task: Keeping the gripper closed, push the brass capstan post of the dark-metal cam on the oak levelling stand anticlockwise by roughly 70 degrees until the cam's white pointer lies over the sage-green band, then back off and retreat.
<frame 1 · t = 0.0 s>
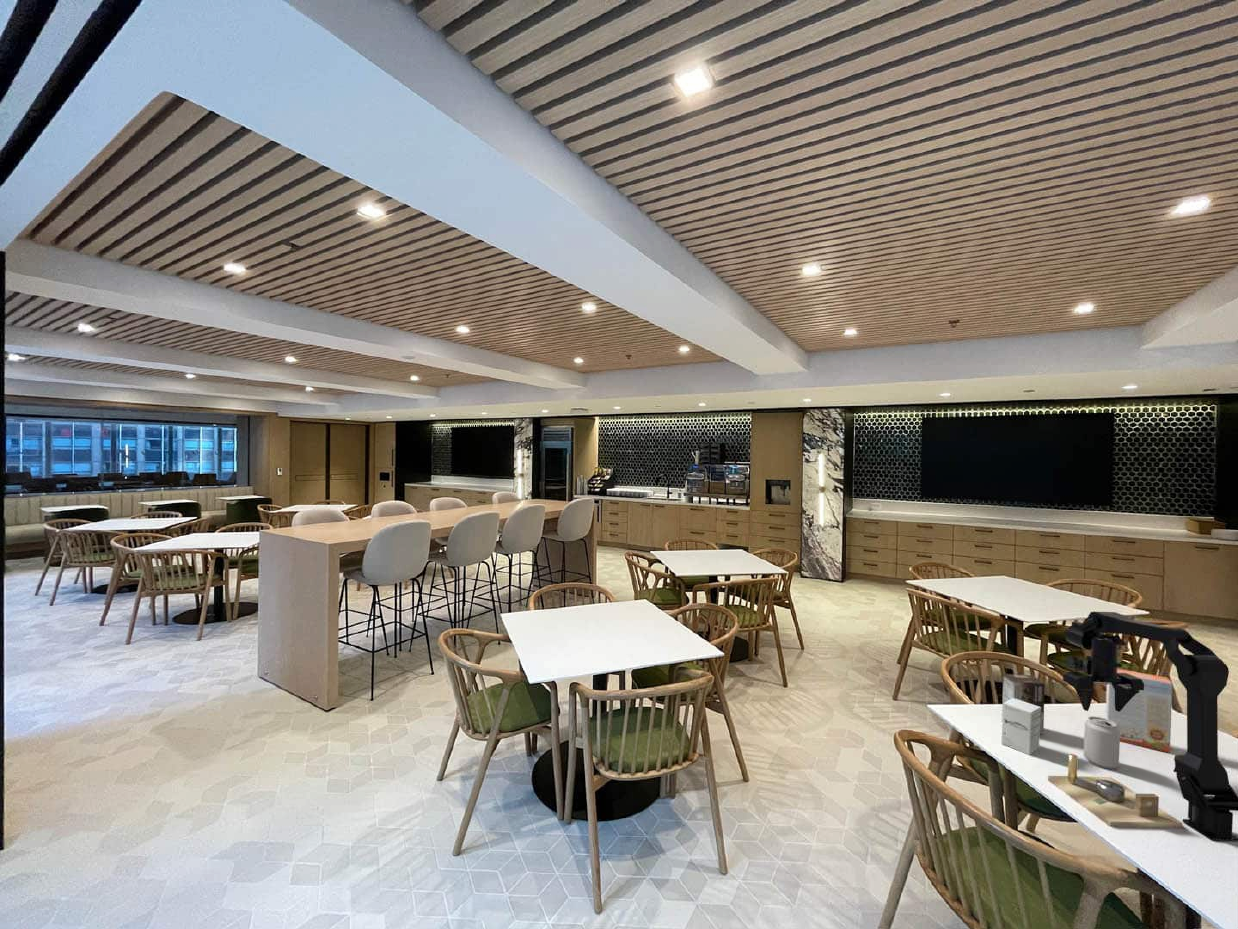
hand: (1101, 710, 154), 15 cm above the table, fingers open, 9 cm apart
cracker box: (1136, 742, 166), on the table
supplement box: (1020, 747, 161), on the table
coffee box: (1021, 729, 172), on the table
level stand: (1110, 802, 135), on the table
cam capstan: (1095, 777, 137), point 5 cm above the table, hinge at 40.0°
can: (1100, 763, 153), on the table
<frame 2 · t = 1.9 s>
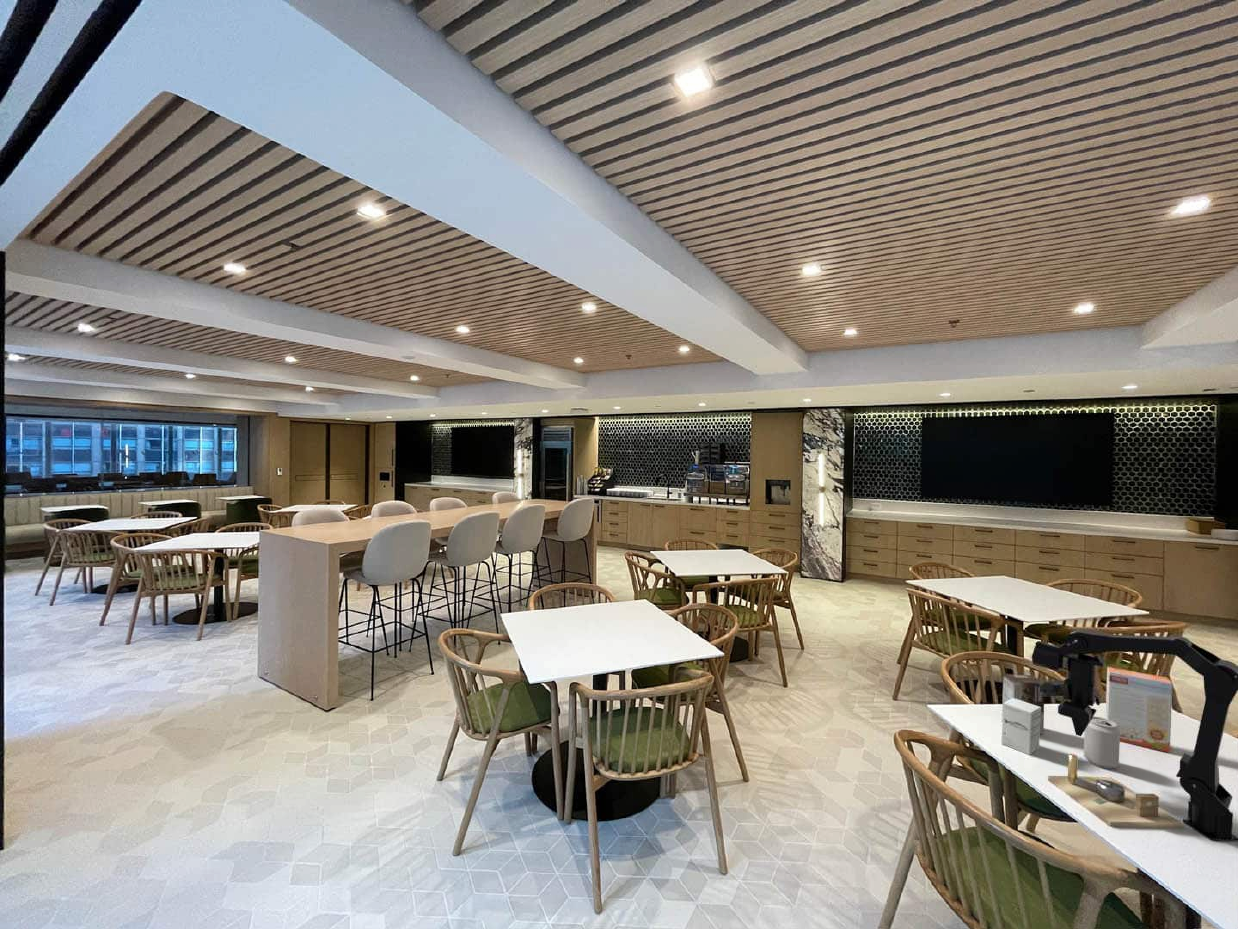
hand: (1078, 735, 145), 12 cm above the table, fingers closed
nothing on the table moved.
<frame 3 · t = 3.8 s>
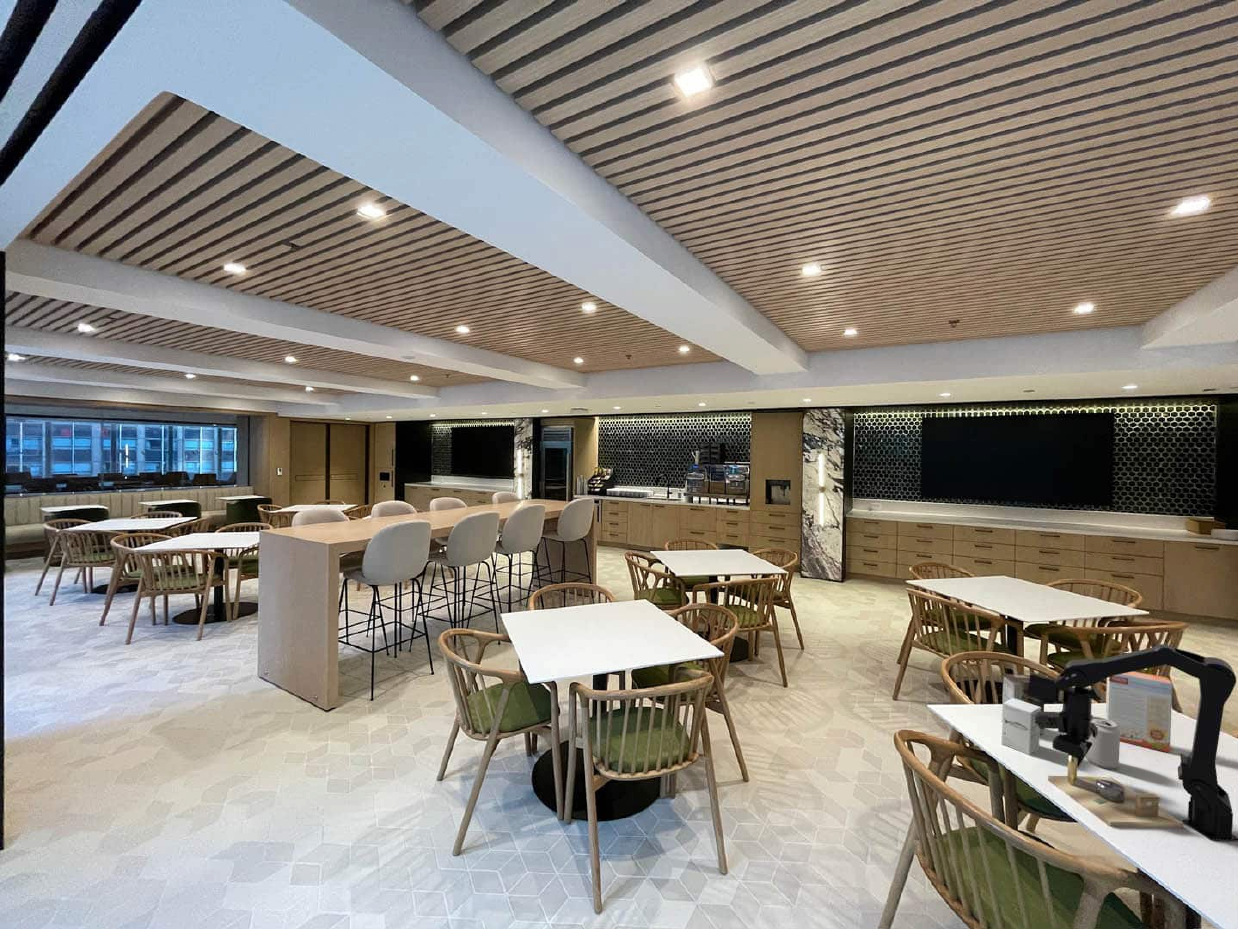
hand: (1074, 768, 143), 4 cm above the table, fingers closed
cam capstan: (1095, 777, 137), point 5 cm above the table, hinge at 43.5°, touching gripper
everything else where it was.
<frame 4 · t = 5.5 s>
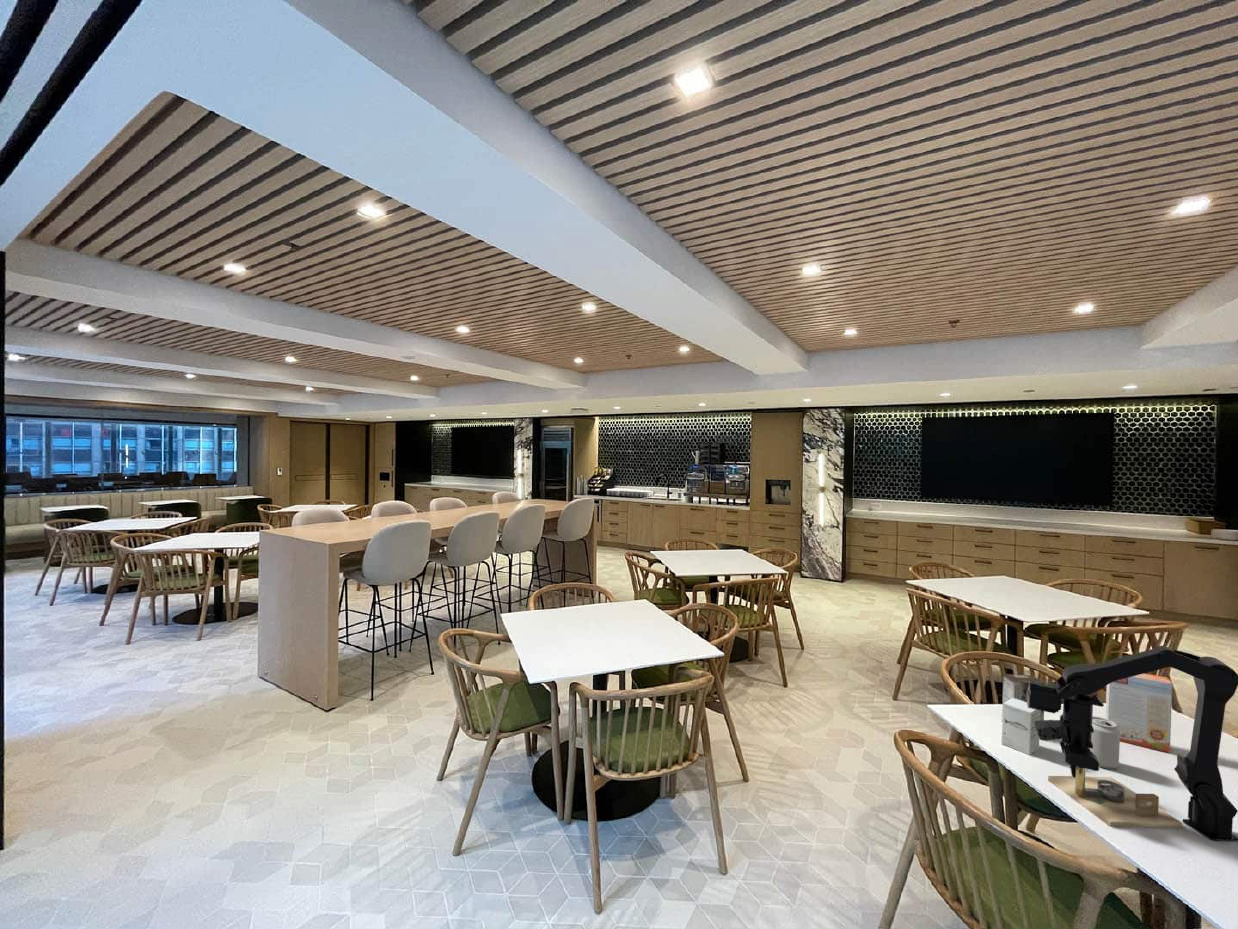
hand: (1074, 777, 139), 4 cm above the table, fingers closed
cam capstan: (1099, 782, 135), point 5 cm above the table, hinge at 86.5°, touching gripper
everything else where it was.
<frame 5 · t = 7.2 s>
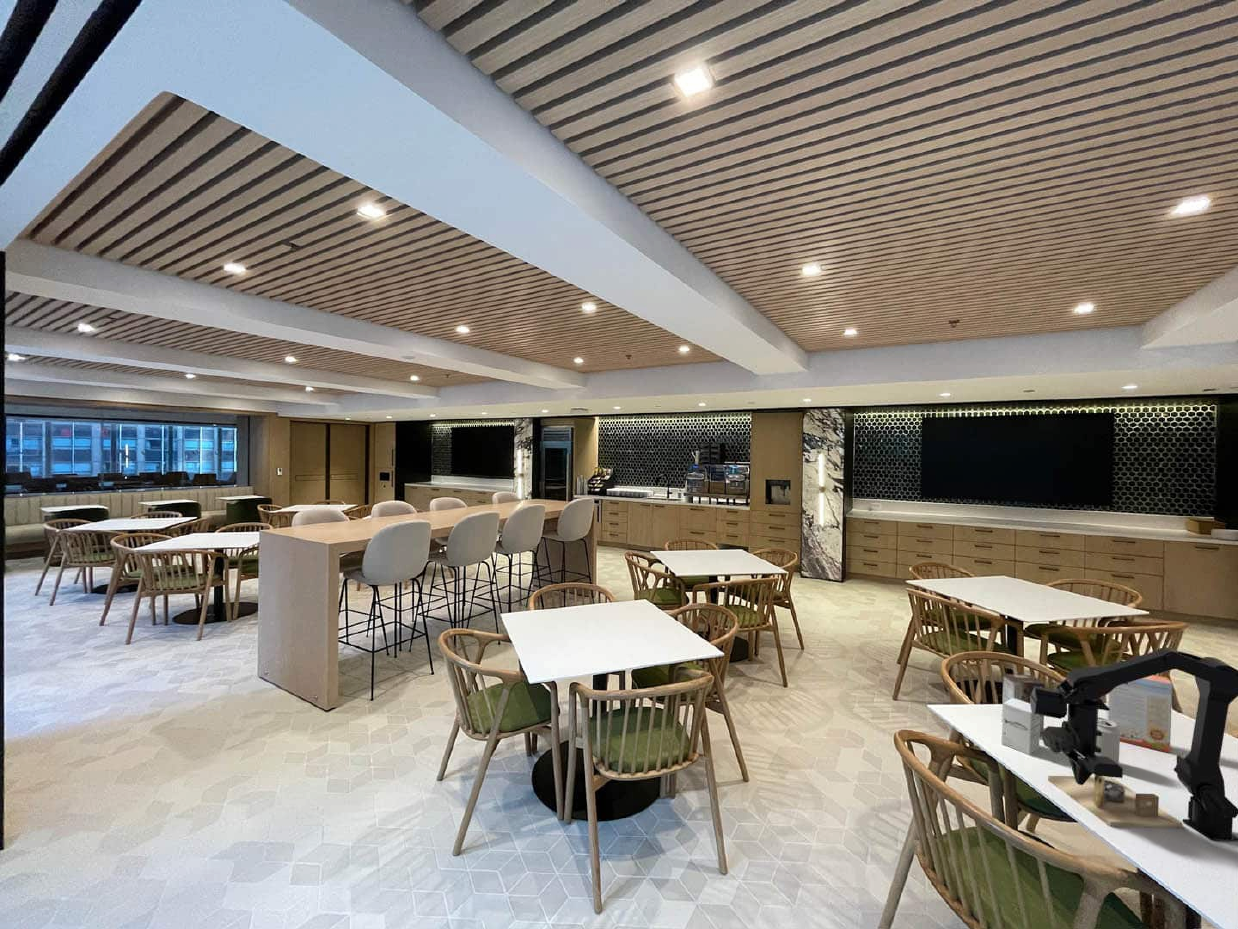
hand: (1079, 784, 136), 4 cm above the table, fingers closed
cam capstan: (1106, 786, 134), point 5 cm above the table, hinge at 119.8°
everything else where it was.
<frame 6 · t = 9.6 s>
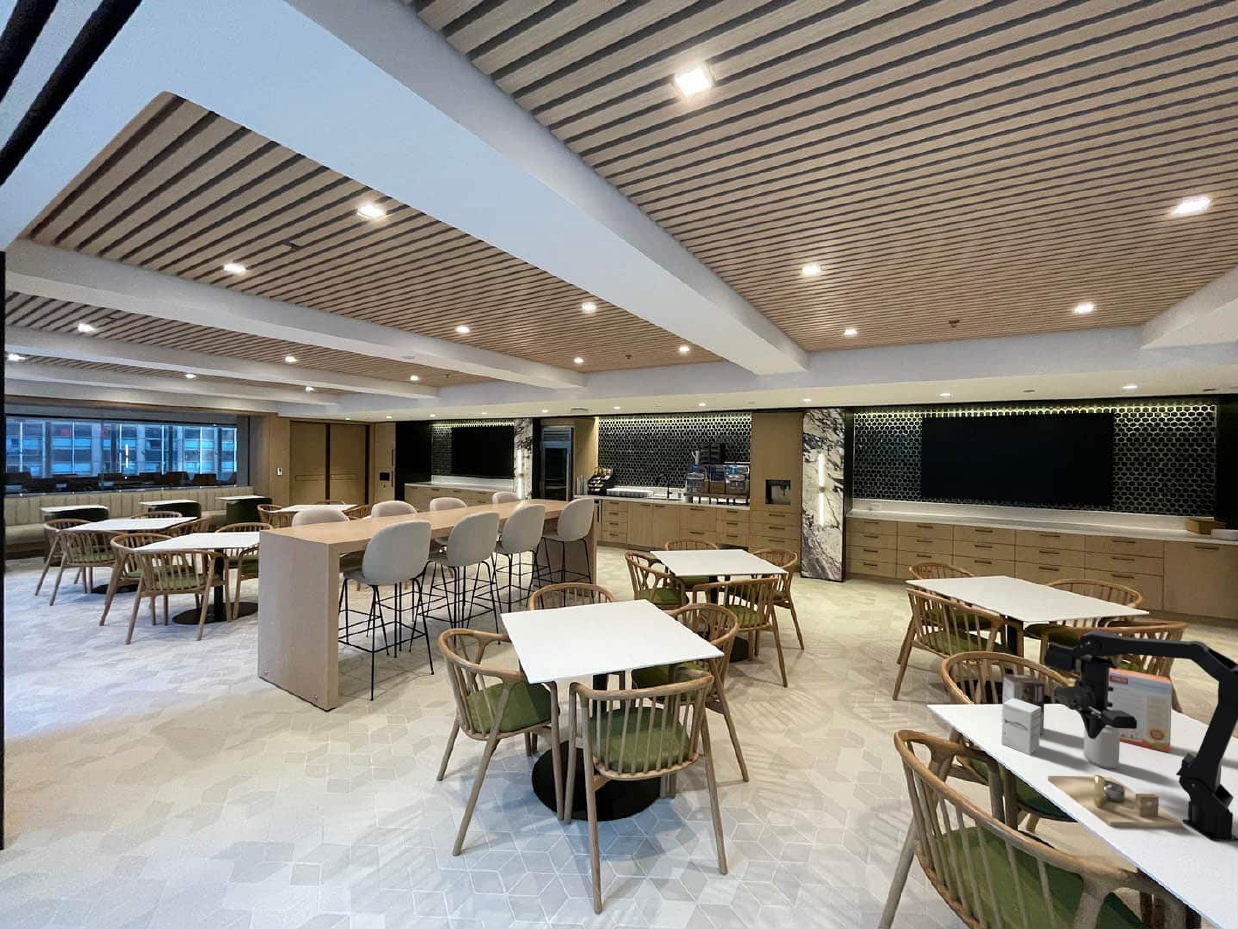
hand: (1091, 738, 143), 12 cm above the table, fingers closed
nothing on the table moved.
at the end: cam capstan at +120° (first picture: +40°) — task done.
